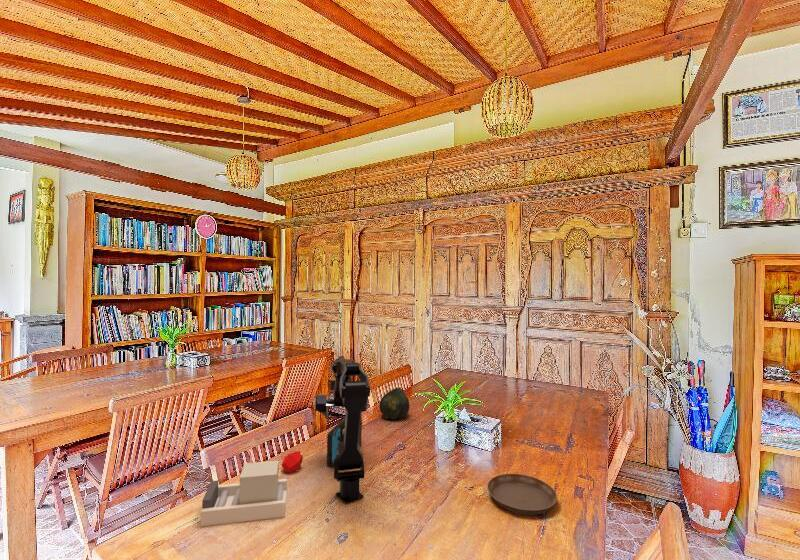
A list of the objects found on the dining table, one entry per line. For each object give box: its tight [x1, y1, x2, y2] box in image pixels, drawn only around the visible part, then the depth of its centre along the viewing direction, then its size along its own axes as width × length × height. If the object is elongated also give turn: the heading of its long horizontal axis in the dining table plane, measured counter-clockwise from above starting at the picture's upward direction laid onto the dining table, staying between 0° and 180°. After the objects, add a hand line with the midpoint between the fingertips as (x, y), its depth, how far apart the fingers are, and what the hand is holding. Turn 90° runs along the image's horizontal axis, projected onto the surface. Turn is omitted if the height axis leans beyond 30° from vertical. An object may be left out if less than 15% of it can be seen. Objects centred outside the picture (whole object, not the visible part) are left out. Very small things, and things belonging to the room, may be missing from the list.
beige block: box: [239, 460, 280, 505], centre depth 120 cm, size 10×9×8 cm
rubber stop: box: [201, 480, 219, 510], centre depth 117 cm, size 2×11×5 cm, turn 13°
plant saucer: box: [486, 473, 558, 516], centre depth 126 cm, size 21×21×3 cm
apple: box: [281, 450, 304, 474], centre depth 143 cm, size 7×7×8 cm
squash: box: [379, 387, 410, 421], centre depth 199 cm, size 14×15×15 cm
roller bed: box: [200, 478, 288, 527], centre depth 119 cm, size 22×14×4 cm, turn 103°
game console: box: [326, 414, 363, 468], centre depth 155 cm, size 28×6×15 cm, turn 167°
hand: (339, 419), depth 154 cm, fingers open, 9 cm apart
